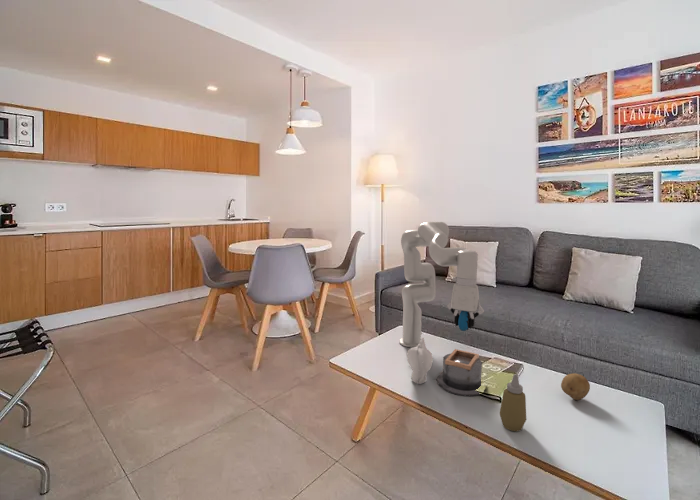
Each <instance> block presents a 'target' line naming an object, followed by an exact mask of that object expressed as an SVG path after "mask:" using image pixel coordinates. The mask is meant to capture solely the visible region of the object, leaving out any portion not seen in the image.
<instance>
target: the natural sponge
mask: <svg viewBox="0 0 700 500" xmlns="http://www.w3.org/2000/svg"><path fill="white" fill-rule="evenodd" d="M560 387H561V390H562V391H563V393H564V394H566V395H567V396H569V397H570V398H571V399H573V400H575V401H580V400H583V399H584V398H586V396H587V395H588V393H589V392H590V390H591V383H590V382H589V380H588V379H587V378H586V377H585V376H584V375H583V374H580V373H576V372H575V373H574V372H573V373H569V374H566V375H564V377H563V378H562V380H561V383H560Z"/></svg>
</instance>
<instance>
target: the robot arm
mask: <svg viewBox="0 0 700 500" xmlns="http://www.w3.org/2000/svg"><path fill="white" fill-rule="evenodd" d="M449 235H450V228H449V226H448V224H447V223H446V222H443V221H425V222H423V223H421V224H420V225H419V226H418V229H409V230H406V231H404V232H403V233H402V235H401V238H400V245H401V249H402V252H403V264H404V265H403V269H404V271H403V272H404V274H403V275H404V278H405V280H406V281H407V282H413V283H412V284H411V283H410V284H407V285H404V286H403V287H402V289H401V297H402V308H403V310H402V337H401V338H399V344H400V345H402V346H403V347H406V348H414V347H416V346H417V345H418V344H419V343H420V344H421V342H420V340H421V338H422V334H423V331H422V314H423V313H422V309H421V307H420V306H419V304H420V303H426V302H428V303H429V302H432V301H434V300H435V298H436V270H435V267H434V266H433V264H432V263H430V262H422V261H421V259H422V258H421V252H420V250H419V249H418V247H421V248H424V247H428V253H429V257H430V258H431V260H432V261H433V262H434V263H435V264H436V265H438V266H441V267H456V277H455V276H453V277H452V282H453V281H454V282H455V283H454V284H453V287H452V291H451V300H450V301H449V302H448V303H447V305H446V308H447V309H448V310H449V311H450V312H451V313H452V315H453V316H454V322H453V323H454V324H455V326H456V327H459V326H458V320H459V316H460V312H461V311H467V312H469V314H470V319H469V329H472V328H473V327H475V318H477V317H478V316H480V315H482V314H483V313H484V312H485V310H484V308H483V307H482V305H481V303H480V293H479V286H478V285H477V280H478V278H477V276H478V260H479V258H478V257H479V254H478V252H477V251H476V250H472V249H468V248H466V247H446V246H447V245H448V242H449ZM414 282H423V283H414ZM477 310H478V311H477Z"/></svg>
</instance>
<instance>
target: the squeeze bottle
mask: <svg viewBox="0 0 700 500" xmlns="http://www.w3.org/2000/svg"><path fill="white" fill-rule="evenodd" d="M523 390H524V387H523V385H522V384H520V380H519V375H518V374H513V376H512V379H511V382H508V383H507V384H506V388H505V389H503V394H502V398H501V404H500V408H499V416H500V420H501V423H502V426H503V427H504V428H505V429H507V430H509V431H512V432H520V431H522V429H523V428H524V426H525V424H526V421H527V403H526V402H527V400H526V393H525V392H524V391H523Z"/></svg>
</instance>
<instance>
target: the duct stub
mask: <svg viewBox="0 0 700 500" xmlns="http://www.w3.org/2000/svg"><path fill="white" fill-rule="evenodd" d="M479 358H480V354H479V353H475V352H470V351H466V350H460V349H457V348H454V350H453V351H452V352H451V353H448V354H445V355H444V356H443V357H442V372H441V373H439V374H438V376H437V385H438V386H439V387H440V389H442V390H443V391H445V392H448V393H449V394H453V395H456V396H460V397H477V396H480V394H479V392H477V391H475V390H476V389H478V388H479V387H480V386H481V378H482V369H483V362H482V361H481V359H479Z"/></svg>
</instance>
